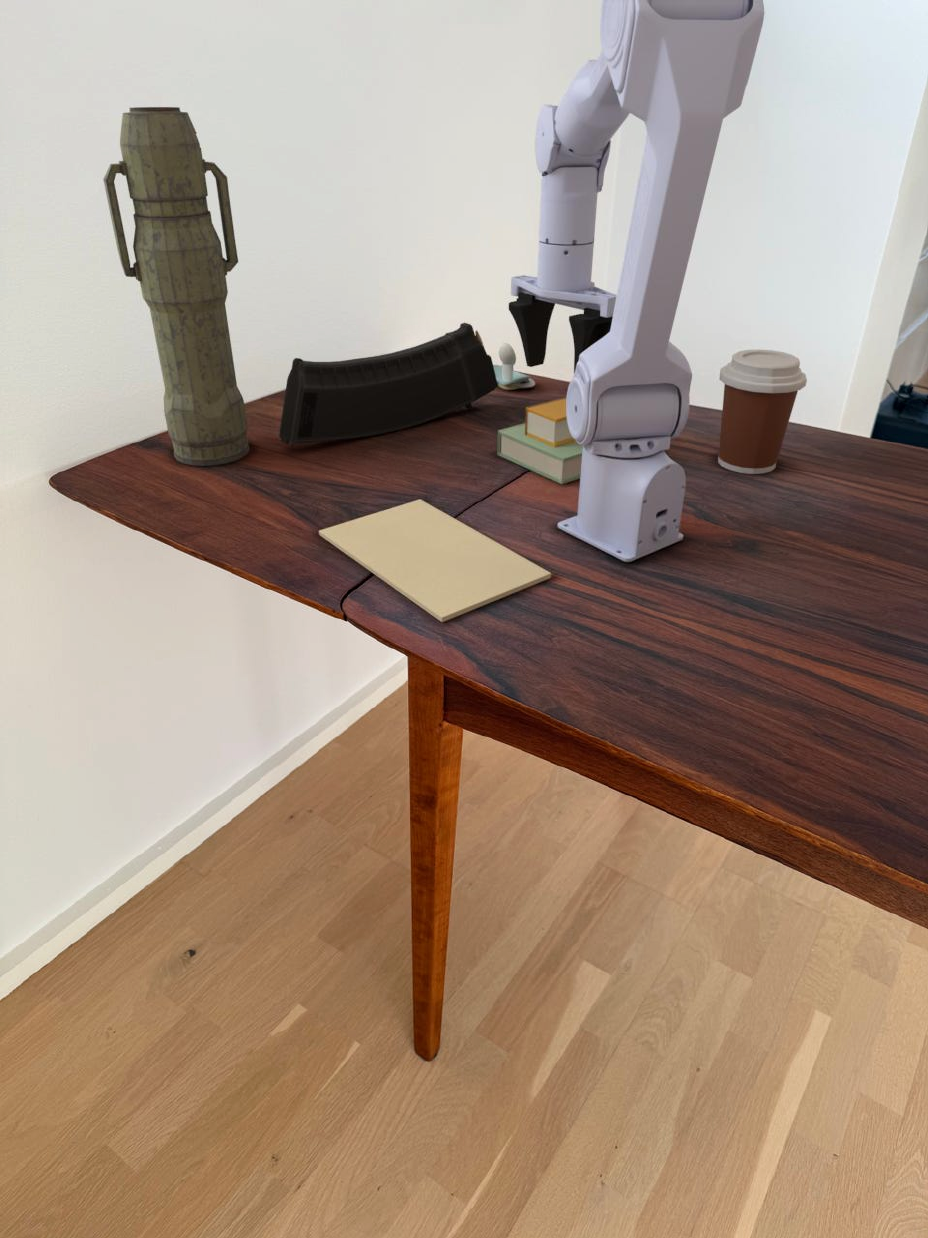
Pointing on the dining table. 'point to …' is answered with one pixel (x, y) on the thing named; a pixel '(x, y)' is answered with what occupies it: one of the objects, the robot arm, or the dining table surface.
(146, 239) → the green canister
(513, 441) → the hardback
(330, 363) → the magazine
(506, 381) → the pacifier
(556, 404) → the pocket book
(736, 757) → the dining table surface
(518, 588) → the mat
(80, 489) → the dining table surface
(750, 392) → the coffee cup (beverage)
